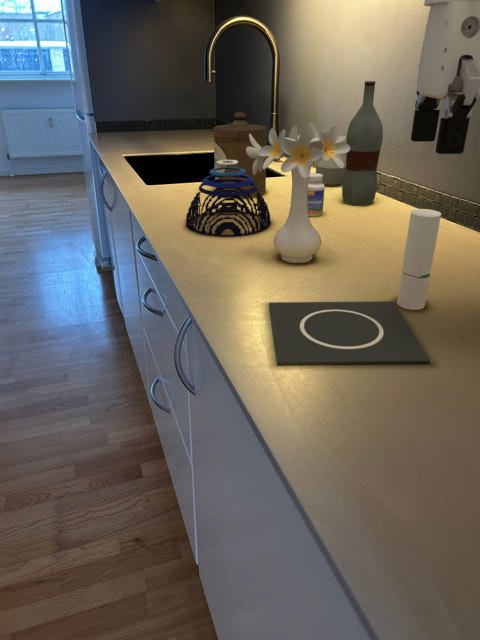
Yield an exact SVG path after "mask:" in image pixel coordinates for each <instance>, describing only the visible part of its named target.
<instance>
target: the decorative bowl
mask: <svg viewBox="0 0 480 640" xmlns="http://www.w3.org/2000/svg"><path fill="white" fill-rule="evenodd" d="M223 162H232V163H223ZM237 163H238V161H237V160H219V161H217V164H220V165H234V164H237ZM221 169H235V170H240V171H239V172H235V173H219V172H216V170H221ZM245 173H246V171H245V170H244V169H241V168H237V167H220V168H215V167H214V168H212V169H210V170H209V175H208V176H206V177H204V178H203V179H202V181H201V183H200V185H199V186H198V192H197V193H195V196H194V197H193V199H192V200H191V201H190V205H189V206H190V207H188V210H187V213H186V218H185V221H186V227H187V228H188V230H190V231H191V232H193V233H196V234H200V235H203V236H208V237H212V236H213V237H221V238H233V237H243V236H250V235H255V234H259V233H262V232H264V231H266V230H268V229H269V228H270V226H272V221H271V213H270V211H269V206H268V204H267V202H266V200H265V197H263V195H261V194H260V193H258V192H257V197H256V202H255V199H254V197H251V196H250V193H253V192H256V191H257V190H258V186H256V185H255V184H254V183H253V179H252V178H251V177H249V176H246V175H244V174H245ZM216 177H240V178H247V179H249V180H247V181H245V180H237V179H221V180H215V178H216ZM210 179H213V180H210ZM224 182H234V183H224ZM248 185H253V186H254V187H252V188H251V189H248V190H244V189H242V190H241V189H240V188H237V187H244V186H248ZM205 186H206V187H211V188H215V187H218V188H217V189H216V190H215V189H213V190H211V189H210V190H208V189H206V188H204V187H205ZM229 188H234V189H237V190H224V189H229ZM218 190H219V191H218ZM238 190H239V191H238ZM221 192H223V193H221ZM232 192H235V193H232ZM201 193H202V194H203V195H207V196H206V197H205V198H204V200H203V202H202V204H201ZM238 195H241V196H244V198H240V197H239V196H238ZM246 195H247V196H248V197H249V198H247V196H246ZM228 197H231V198H228ZM215 198H216V199H215ZM213 199H214V201H213ZM244 199H245V200H246V201H245V200H244ZM227 201H228V202H227ZM229 201H230V202H229ZM210 204H211V205H210ZM248 205H249V206H248ZM204 208H205V210H204ZM214 210H215V211H214ZM239 214H240V215H239ZM207 215H208V216H207ZM221 216H224V217H221ZM230 216H234V217H230ZM199 217H200V218H199ZM237 217H238V218H239V219H238V218H237ZM257 217H258V219H257ZM224 220H233V221H224ZM203 221H204V222H203ZM252 221H253V222H252ZM202 222H203V223H202ZM236 222H237V224H238V225H237V224H236ZM243 222H244V223H243ZM218 223H219V224H218ZM253 223H254V224H253ZM206 226H207V227H206ZM215 226H216V227H215ZM245 226H246V227H245ZM214 227H215V229H214ZM250 228H251V230H250ZM213 229H214V232H213ZM226 230H229V231H231V233H232V234H223V233H224V232H226ZM242 230H244V233H242Z"/></svg>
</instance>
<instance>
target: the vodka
mask: <svg viewBox="0 0 480 640" xmlns="http://www.w3.org/2000/svg"><path fill="white" fill-rule="evenodd" d="M376 82H377V81H376V80H365V81H364V88H363V97H362V104H361V106H360V107H359V109H358V110H357V112H356V113H355V115H354V116H353V117H352V119H351V120H350V122H349V124H348V127H347V133H346V136H345V137H346V143H347V144H348V145H349V146H350V151H349V152H347V153H346V170H345V175H344V179H343V183H342V184H341V196H342V202H343V204H345V205H348V206H352V207H353V206H354V207H367V206H370V205H372V204H373V203H374V201H375V198H376V194H377V191H378V164H379V159H380V154H381V149H382V145H383V139H384V127H383V123H382V121H381V118H380V115H379V114H378V112H377V110H376V108H375V105H374V98H375V89H376Z"/></svg>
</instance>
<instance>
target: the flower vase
mask: <svg viewBox="0 0 480 640" xmlns="http://www.w3.org/2000/svg"><path fill="white" fill-rule="evenodd" d="M298 129H299V128H298V125H294V126H292V128H291V130H290V132H289V134H288V137H285V136H286V129H285V128H284V129H282V130H281V132H280V133H279V134H278V135H277V132H276V130H275V128H270V130H269V133H268V142H269V144H270V145H266V146H264V147H262V148H261V147H260V146H259V144H258V143H257V142H256V141H255V139H254V138H253V137H252V135H251V134H249V138H250V141H251V144H252V145H253V146H254V147H256V148H254V147H247V148H246V153H247V155H248V156H249V157H250V158H257V159H256V160H255V161H254V163H253V174H254V175H255V174H256V172H257V170H258V168H259V171H260V173H261V170H262V165H263V169H266V170H267V168H268V167H269V166H270V165H271V164H272V163H273V162H275V161H277V160H280V159H282V158H285V160H284V161H282V164H281V166H280V171H281V172H282V173H288V172H290V173H291V193H290V194H291V196H290V206H289V213H288V216H287V219H286V221H285V223H284V224H283V225H282V226H281V227H280V228H279V229H278V231H277V232H276V233H275V235H274V237H273V246H274V249H275V250H276V251H277V252H278V253H279V254H280V258H281V259H282V261H284V262H287V263H291V264H304V263H308V262H310V261H312V259H313V255H315V254H317V252H319V250H320V249H321V246H322V238H321V236H320V233H319V232H318V230H317V229H316V228H315V226H313V224H312V223H311V222H312V221H311V220H310V216H308V180H309V175H310V173H311V169H312V167H313V166H312V165H314V163H315V162H317V160H321V159H322V158H323V160H324V161H328V160H329V159H331V160H333V161H334V162H335V164H336V165H337V166H338V167H340V168H343V167H344V163H343V160H342V158H341V157H340V156H339V155H336V154H344V153H347V152H349V151H350V146H349V145H348V144H347V143H344V142H339V143H336V144H334V143H335V142H336V141H337V139H338V136H339V128H338V125H335V124H334V125H332V127H327V128H325V129H324V130H317V128H316V126H315V125H314V124H313V123H311V122H310V123H308V124H307V125H306V130H307V131H305V130H304V131H303V132H302V133H301V134H298V131H299V130H298ZM265 157H266V160H265V162H264V164H263V161H264V158H265Z"/></svg>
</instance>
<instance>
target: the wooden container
mask: <svg viewBox="0 0 480 640" xmlns="http://www.w3.org/2000/svg"><path fill="white" fill-rule="evenodd" d="M233 118H234V120H233V121H232V123H231V124H230V123H229V124H220V125H215V126H214V127H213V148H214V149H213V153H214V155H213V156H214V158H213V159H214V160H213V161H214V163H213V165H214V169H215V168H220V167H237V168H241V169H244V170H245V171H246V173H245V174H244V175H246V176H249V177H251V178H252V179H253V183H254V184H255V185H256V186H258V190H257V191H256V192H253V193H250V196H251V197H252V198H257V192H258V193H260V194H261V196H263V195H264V194H266V192H267V191H266V190H267V168H266V169H263V165H262V170H261V173H260V171H259V168H258V170H257V172H256V174H255V175H254V174H253V163H254V161H255V160H256V159H257V158H250V157H249V156H248V155H247V153H246V148H247V147H254V146H253V145H252V144H251V141H250V138H249V134H251V135H252V137H253V138H254V139H255V141H256V142H257V143H258V144H259V146H260V147H261V148H262V147H264V146H267V143H266V141H267V140H266V138H267V128H266V127H267V126H265V125H262V124H251V123H248V122H247V121H246V120H245V119H247V115H246V113H244V112H243V111H236V112H235V113H234V114H233ZM254 148H256V147H254ZM266 159H267V156H266V157H265V158H264V161H263V164H264V162H265V160H266ZM219 160H237V161H238V163H237V164H234V165H220V164H217V161H219ZM223 163H232V162H223ZM239 171H240V170H235V169H221V170H216V172H219V173H235V172H239ZM221 179H237V180H245V181H247V180H249V179H247V178H240V177H216V178H214V180H221ZM224 183H234V182H224ZM252 187H254V186H253V185H248V186H244V187H237V188H240V189H241V190H242V189H244V190H248V189H251V188H252ZM214 188H215V189H214V190H216V189H217V188H218V187H214ZM224 190H237V189H234V188H229V189H224ZM218 191H219V190H218ZM238 191H239V190H238ZM221 193H223V192H221ZM232 193H235V192H232ZM238 196H239V197H240V198H241V199H245V198H244V196H241V195H238ZM246 196H247V195H246ZM227 198H231V197H227ZM247 198H248V199H250V198H249V197H248V196H247Z"/></svg>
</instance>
